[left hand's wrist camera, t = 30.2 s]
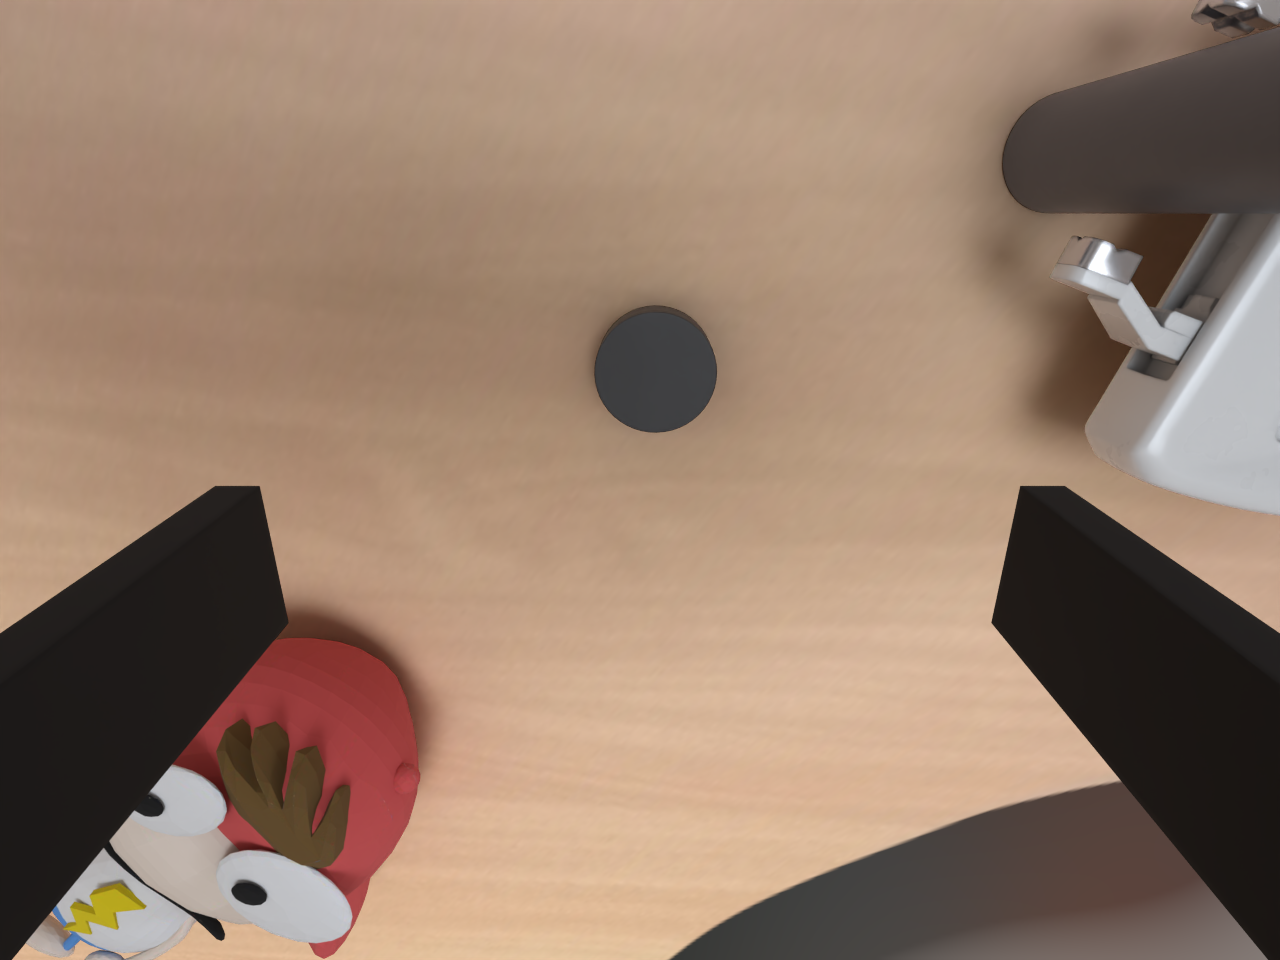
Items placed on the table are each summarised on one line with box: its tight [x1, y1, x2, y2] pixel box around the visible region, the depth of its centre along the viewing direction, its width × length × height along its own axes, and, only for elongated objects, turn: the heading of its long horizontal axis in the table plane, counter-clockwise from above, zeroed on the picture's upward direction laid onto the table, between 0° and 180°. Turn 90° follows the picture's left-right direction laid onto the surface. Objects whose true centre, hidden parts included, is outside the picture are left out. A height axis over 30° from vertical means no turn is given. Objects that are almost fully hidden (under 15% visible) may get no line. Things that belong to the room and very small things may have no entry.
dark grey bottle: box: [1003, 27, 1280, 214], centre depth 21 cm, size 4×4×16 cm
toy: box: [26, 638, 420, 960], centre depth 37 cm, size 18×10×30 cm
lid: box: [595, 306, 717, 433], centre depth 31 cm, size 5×5×2 cm
